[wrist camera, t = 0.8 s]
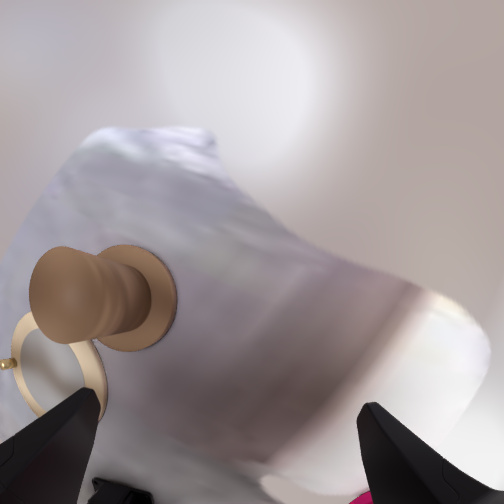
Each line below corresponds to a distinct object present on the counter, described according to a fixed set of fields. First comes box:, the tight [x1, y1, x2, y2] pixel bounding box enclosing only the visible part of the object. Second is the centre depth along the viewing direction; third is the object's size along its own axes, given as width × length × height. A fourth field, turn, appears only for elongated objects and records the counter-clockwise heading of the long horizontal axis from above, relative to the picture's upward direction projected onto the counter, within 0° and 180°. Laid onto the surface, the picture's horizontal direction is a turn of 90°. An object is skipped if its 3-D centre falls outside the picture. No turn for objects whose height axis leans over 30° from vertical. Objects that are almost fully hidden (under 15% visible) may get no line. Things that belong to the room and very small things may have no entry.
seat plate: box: [0, 311, 108, 422], centre depth 18 cm, size 12×12×3 cm
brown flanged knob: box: [29, 245, 177, 352], centre depth 16 cm, size 8×8×9 cm
